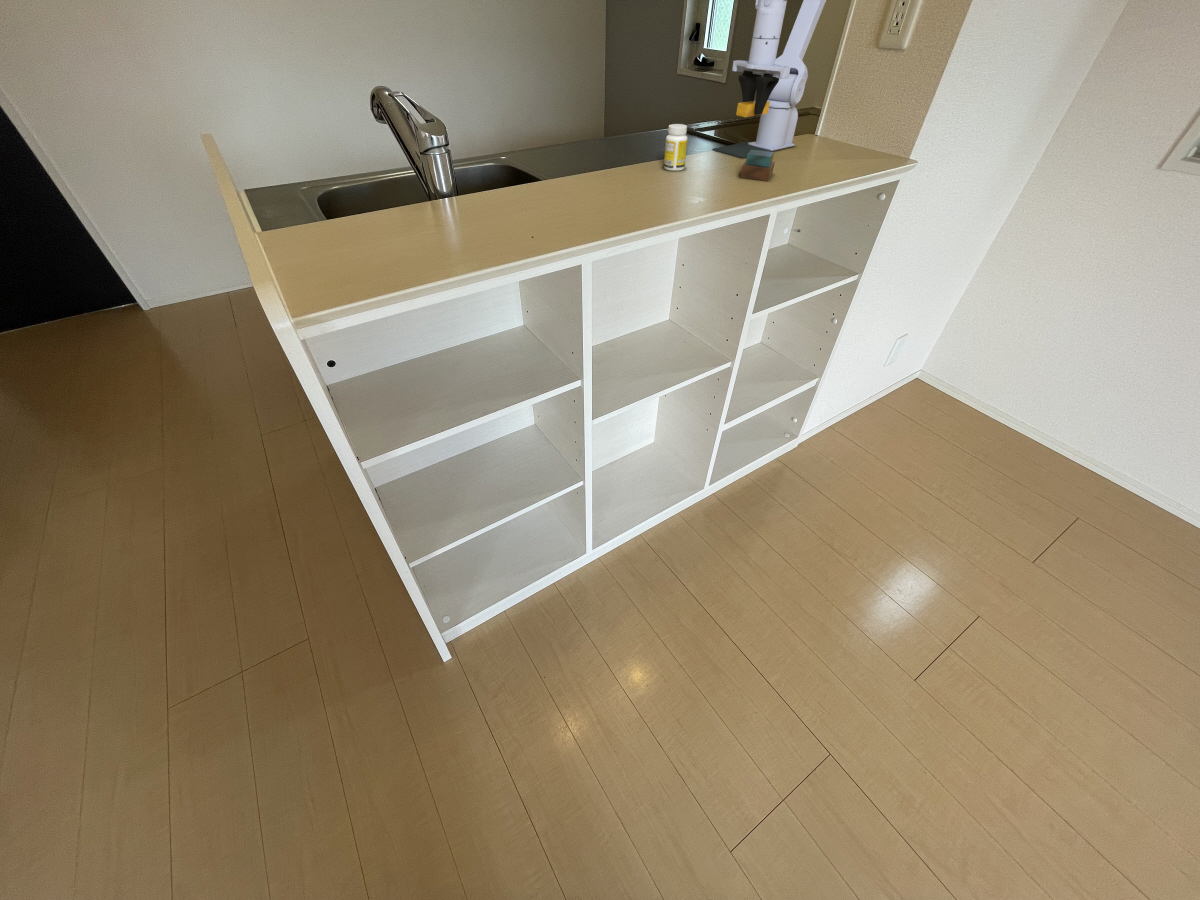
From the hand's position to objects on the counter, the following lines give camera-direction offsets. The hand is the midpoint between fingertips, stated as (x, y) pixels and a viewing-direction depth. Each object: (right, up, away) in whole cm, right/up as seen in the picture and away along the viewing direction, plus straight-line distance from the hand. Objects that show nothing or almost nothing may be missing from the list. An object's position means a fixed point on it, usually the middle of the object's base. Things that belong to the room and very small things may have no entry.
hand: (752, 113), depth 118 cm
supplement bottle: (-19, -14, -2) cm, 23 cm away
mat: (+2, -2, +11) cm, 12 cm away
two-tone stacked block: (-1, -18, -6) cm, 19 cm away
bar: (0, 0, 0) cm, 0 cm away
